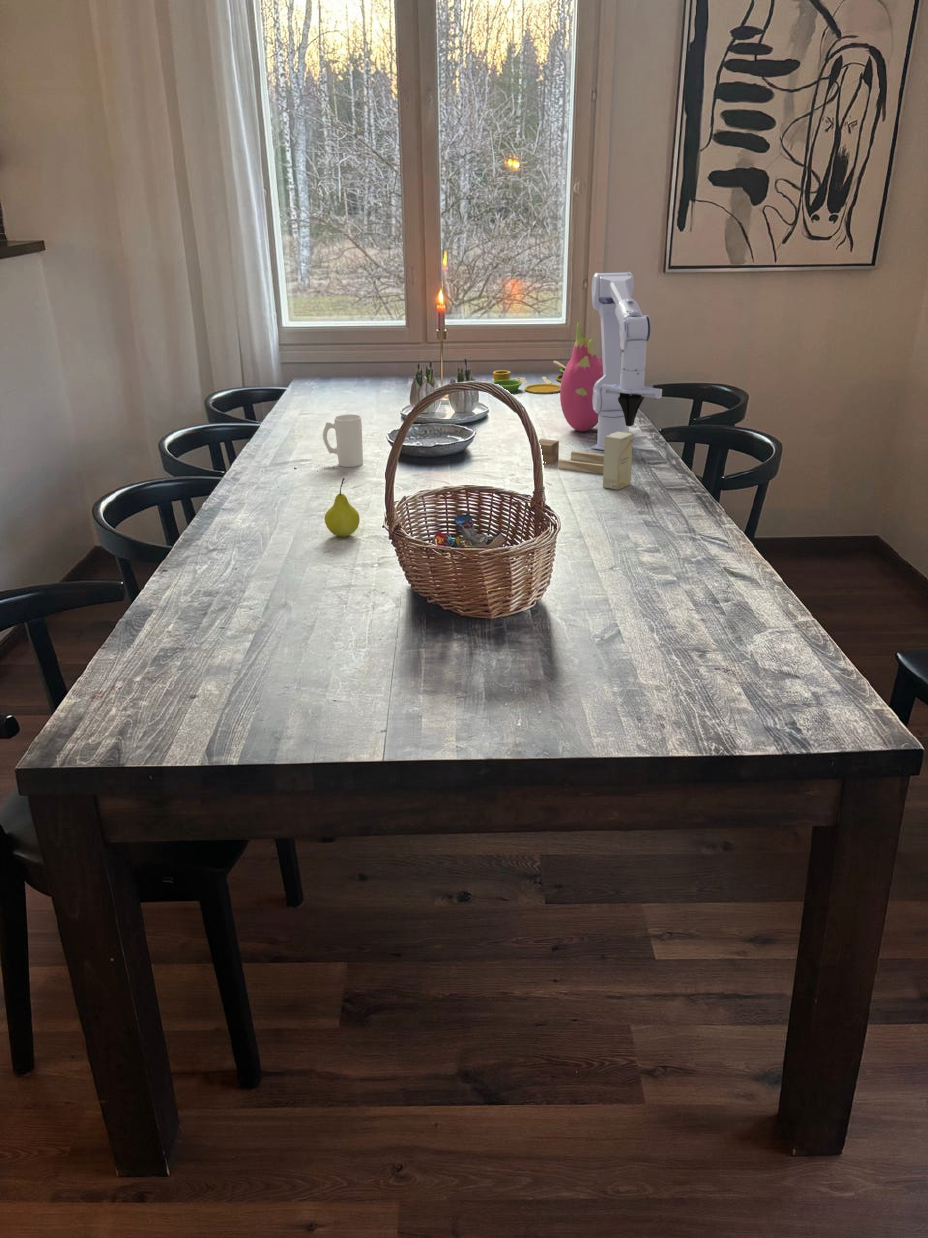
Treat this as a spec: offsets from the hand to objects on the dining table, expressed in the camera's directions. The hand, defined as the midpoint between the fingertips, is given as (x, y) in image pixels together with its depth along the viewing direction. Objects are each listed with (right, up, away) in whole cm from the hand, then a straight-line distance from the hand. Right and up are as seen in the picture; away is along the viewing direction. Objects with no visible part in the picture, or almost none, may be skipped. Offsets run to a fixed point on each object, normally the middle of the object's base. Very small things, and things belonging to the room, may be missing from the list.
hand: (629, 425), depth 235 cm
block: (-20, -7, +10) cm, 23 cm away
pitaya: (-7, +6, +37) cm, 38 cm away
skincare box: (-5, -16, -9) cm, 19 cm away
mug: (-71, -8, +11) cm, 72 cm away
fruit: (-66, -31, -37) cm, 81 cm away
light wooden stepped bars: (-10, -9, +5) cm, 14 cm away
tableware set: (-11, +32, +93) cm, 99 cm away
